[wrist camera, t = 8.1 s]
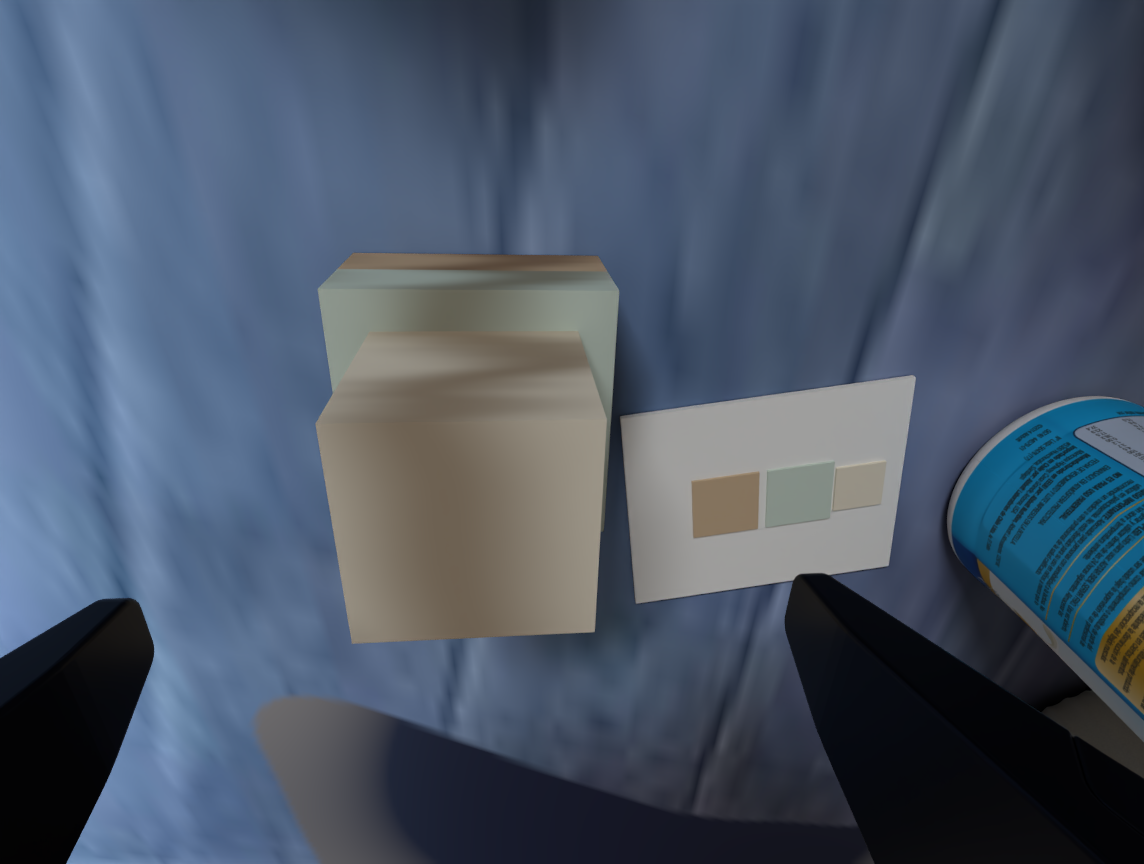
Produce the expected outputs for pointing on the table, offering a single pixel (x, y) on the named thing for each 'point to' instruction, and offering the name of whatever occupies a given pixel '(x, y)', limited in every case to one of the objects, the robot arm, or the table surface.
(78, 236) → the table surface
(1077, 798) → the robot arm
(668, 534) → the page
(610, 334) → the tower base
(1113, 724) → the canister
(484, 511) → the beige cube
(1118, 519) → the beverage bottle
